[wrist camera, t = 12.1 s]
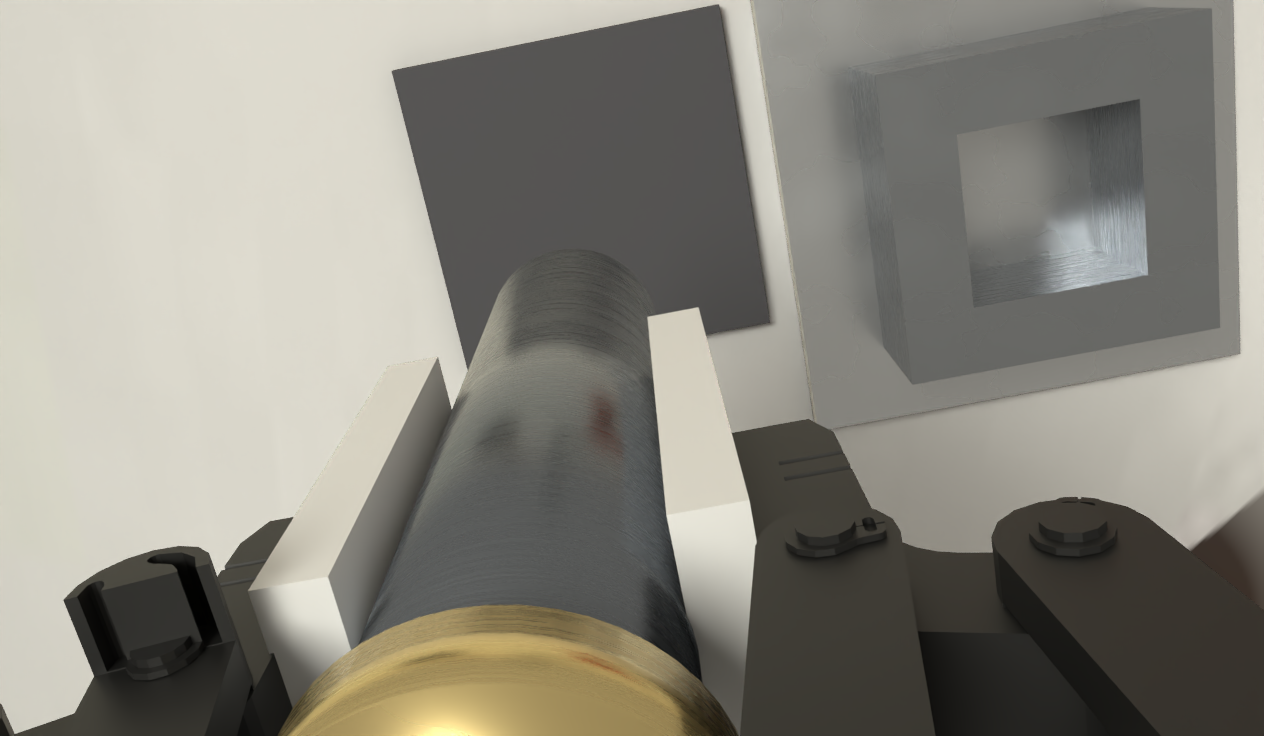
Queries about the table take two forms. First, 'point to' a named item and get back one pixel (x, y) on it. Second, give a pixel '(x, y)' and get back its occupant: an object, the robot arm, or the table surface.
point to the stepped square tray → (1001, 193)
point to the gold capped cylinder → (535, 542)
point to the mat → (590, 166)
